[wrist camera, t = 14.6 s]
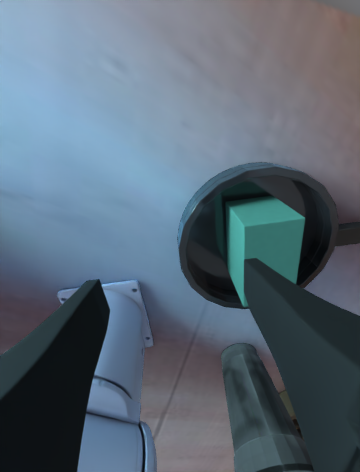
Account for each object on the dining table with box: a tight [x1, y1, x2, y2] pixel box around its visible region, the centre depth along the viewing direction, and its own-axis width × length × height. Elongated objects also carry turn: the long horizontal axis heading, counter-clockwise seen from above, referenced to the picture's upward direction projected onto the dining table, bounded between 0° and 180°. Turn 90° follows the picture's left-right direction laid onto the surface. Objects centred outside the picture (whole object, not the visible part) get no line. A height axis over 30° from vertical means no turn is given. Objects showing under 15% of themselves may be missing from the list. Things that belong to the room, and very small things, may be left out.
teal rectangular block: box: [226, 196, 305, 307], centre depth 18 cm, size 7×4×5 cm, turn 7°
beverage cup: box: [221, 343, 314, 472], centre depth 20 cm, size 7×7×20 cm
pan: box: [177, 162, 339, 309], centre depth 20 cm, size 13×13×2 cm
